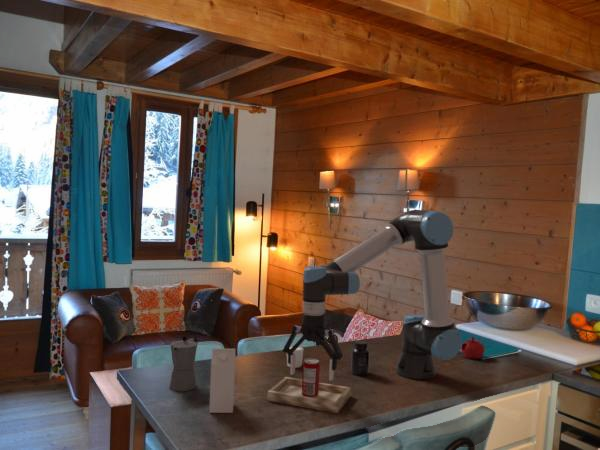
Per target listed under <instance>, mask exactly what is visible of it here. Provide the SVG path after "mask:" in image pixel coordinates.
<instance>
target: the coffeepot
mask: <svg viewBox="0 0 600 450" xmlns="http://www.w3.org/2000/svg"><path fill="white" fill-rule="evenodd" d="M181 337H182V340H176V341H172V342H171V344H170V351H171V359H172V364H173V368H172V373H171V379H170V382H169V383H170V384H169V389H170V390H172V391H174V392H188V391H189V390H190V391H192V389H193V390H194V389H196V386H197V381H196V374H195V372H196V371H195V368H194V363H195V361H196V354H197V348H198V343H199V341H198V339H197V338H196V337H194V336H193V337H191V338H189V339H188V335H186V334H184V335H182V336H181ZM187 339H188V340H187Z"/></svg>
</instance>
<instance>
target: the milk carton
mask: <svg viewBox="0 0 600 450" xmlns="http://www.w3.org/2000/svg"><path fill="white" fill-rule="evenodd" d="M211 351H212V353H211V359H210V360H211V361H210V362H211V363H210V384H209V387H210V388H209V409H208V410H209V411H208V413H210V414H211V413H213V414H216V413H217V414H218V413H219V414H220V413H221V414H233V412H234V406H235V405H234V404H235V383H236V382H235V381H236V379H235V377H236V348H212V349H211Z"/></svg>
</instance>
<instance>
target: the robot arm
mask: <svg viewBox="0 0 600 450" xmlns="http://www.w3.org/2000/svg"><path fill="white" fill-rule="evenodd" d="M453 235H454V225H453V222H452V220H451V218H450V217H449V216H448V214H446V213H444V212H442V211H438V210H431V209H429V210H427V209H412V210H409V211H407V212H404V213H403V214H400V215H399V216H397V217H395V218H394V219H392V220H391V221H388V222H387V223H386V224H385V226H384V228H383V229H382V230H380V231H379V232H377V233H375V234H373V235H372V236H371V237H368V238H367V239H365V240H364V241H362V242H361V243H359V244H357V245H356V246H354V247H353V248H351V249H350V250H349V251H347V252H345V253H344V254H342V255H340V256H339V257H337V258H335V259H334V260H332V261H330V262H329V263H327V264H326V265H316V266H315V265H309V266H306V267H305V268H304V270H303V275H302V276H303V278H302V310H301V311H302V312H303V313H302V314H301V326H299V325H298V324H295V325H293V326H292V331H291V333H290V335H289V338H288V340H286V343H285V345H284V347H283V349H282V351H283V353H285V354H286V355H287V354H288V364H290V367H289V368H290V371H289V372H290V373H289V374H290V375H291V376H292V375H293V374H295V373H296V368H295V359H296V353H293V352H294V351H295V350H296V349H297V348H298V347H301V345H302V343H304V342H305V341H307V342H313V343H317V342H318V343H319V344H320V345H321V347H322V348H323V349H324V351H325V352H326V354H327V355H328V356H329V358H330V360H329V366H328V367H329V370H328V373H329V374H328V381H333V379H334V378H335V377H334V376H335V375H334V374H335V371H336V370H337V368H338V360H341V359H342V358H343V355H344V354H343V353H342V351H341V347H340V346H339V343H338V342H337V338H336V336H335V330H334V328H331V329H326V327H325V324H326V322H325V321H326V320H325V319H326V315H325V313H326V297H327V296H332V295H333V296H335V295H336V296H337V295H338V296H339V295H341V296H343V295H347V296H348V295H353V294H357V293H358V292H359V290H360V286H361V281H360V277H359V275H358V273H357V272H356V271H358V270H360V269H361V268H363V267H364V266H365V265H367V264H369V263H371V262H372V261H373V260H375V259H376V258H378V257H380V256H381V255H383V254H384V253H386V252H387V251H389V250H390V249H392V248H394V247H395V246H398V247H399V246H402V245H404V244H405V243H408V242H412V241H414V249H415V251H417V252H418V253H419V258H420V259H419V260H420V270H421V282H422V283H421V285H422V294H423V296H422V297H423V305H424V314H407V315H405V316H404V317H403V319H402V320H403V321H402V324H401V326H402V334H401V335H402V337H401V338H402V339H401V351H400V352H401V353H400V355H399V358H398V361H397V362H396V367H395V372H396V373H397V375H400V377H404V378H408V379H413V380H431V379H434V378H435V377H436V373H437V371H436V366H435V363H434V358H436V359H439V360H442V361H449V360H451V359H453V358H455V357H456V356H457V355H458V353H459V352H460V351H461V346H462V344H463V338H462V335H461V334H460V332H459V331H458V330H456V329H455V319H454V318H452V317H451V316H450V309H449V297H448V296H449V295H448V293H449V292H448V283H447V281H448V279H447V270H446V269H447V268H446V256H445V251H446V250H447V249H448V248H449V242H450V241H451V240H452V237H453ZM300 332H301V334H302V336H301V337H300V338H299V339H298V340H297V341H296V343H295V344H294V345H293V347H292V348H291V349H289V348H290V346H292V344H293V342H294V340H295V338H296V337H297V335H298V333H300ZM325 335H326V336H327V337H328V340H329V342H330V344H331V345H330V344H329V342H328V341H327V339H326V338H325Z"/></svg>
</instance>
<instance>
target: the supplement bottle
mask: <svg viewBox="0 0 600 450" xmlns="http://www.w3.org/2000/svg"><path fill="white" fill-rule="evenodd" d="M353 347H354V348H353V349H351V366H350V372H351V374H353V375H355V376H367V375H368V374H369V373H370V372H369V371H370V350H369V349H368V342H366V341H362V340H358V341H357V340H356V341H355V342H354V346H353Z"/></svg>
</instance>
